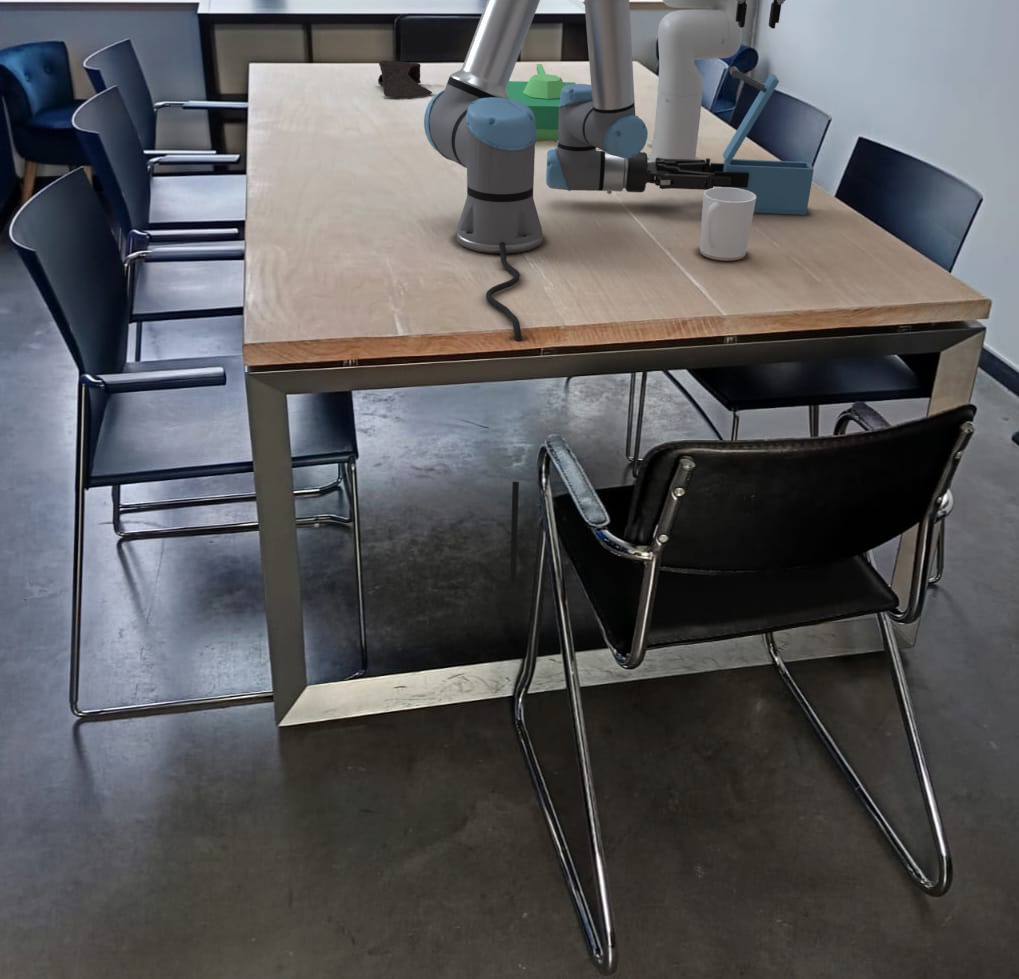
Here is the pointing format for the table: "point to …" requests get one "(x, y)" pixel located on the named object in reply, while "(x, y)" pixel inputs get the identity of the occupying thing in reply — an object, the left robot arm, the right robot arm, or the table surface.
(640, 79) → the table surface
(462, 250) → the table surface
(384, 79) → the axe head
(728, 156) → the lid
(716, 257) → the mug
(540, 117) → the toy tank
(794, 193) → the chest
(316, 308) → the table surface
